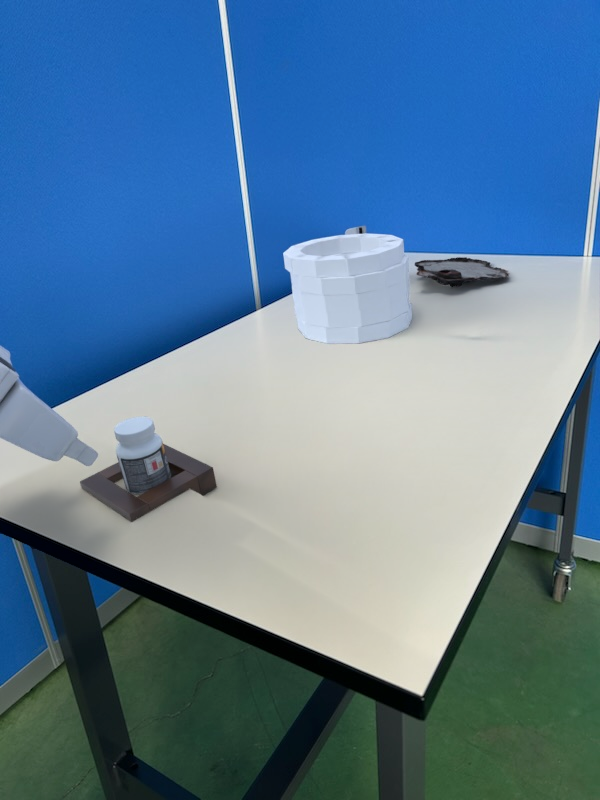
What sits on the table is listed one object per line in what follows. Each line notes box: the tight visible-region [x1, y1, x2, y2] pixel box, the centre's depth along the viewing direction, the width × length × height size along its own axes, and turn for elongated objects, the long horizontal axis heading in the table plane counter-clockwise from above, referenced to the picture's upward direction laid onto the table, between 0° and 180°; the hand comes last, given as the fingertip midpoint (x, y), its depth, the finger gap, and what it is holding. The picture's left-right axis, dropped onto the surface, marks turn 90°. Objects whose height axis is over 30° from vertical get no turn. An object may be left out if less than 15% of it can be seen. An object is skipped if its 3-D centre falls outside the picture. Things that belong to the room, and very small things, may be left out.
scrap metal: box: [414, 256, 510, 289], centre depth 151 cm, size 23×4×30 cm
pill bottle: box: [113, 416, 172, 495], centre depth 77 cm, size 6×6×10 cm
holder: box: [79, 443, 218, 523], centre depth 78 cm, size 12×12×3 cm
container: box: [282, 232, 413, 345], centre depth 127 cm, size 25×24×16 cm
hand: (79, 447), depth 70 cm, fingers open, 8 cm apart
